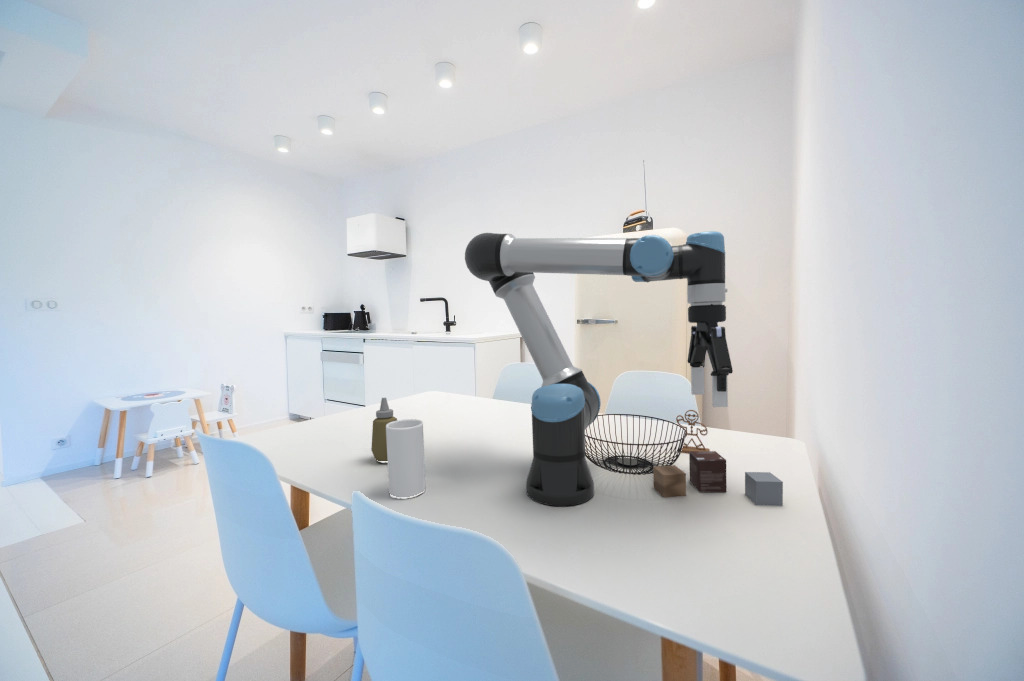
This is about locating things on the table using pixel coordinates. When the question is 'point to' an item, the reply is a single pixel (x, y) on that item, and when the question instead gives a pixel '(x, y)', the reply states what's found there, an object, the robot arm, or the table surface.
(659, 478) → the walnut block
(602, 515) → the table surface
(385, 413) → the squeeze bottle
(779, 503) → the grey block
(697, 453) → the box
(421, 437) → the cup
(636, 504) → the table surface
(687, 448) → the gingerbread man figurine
